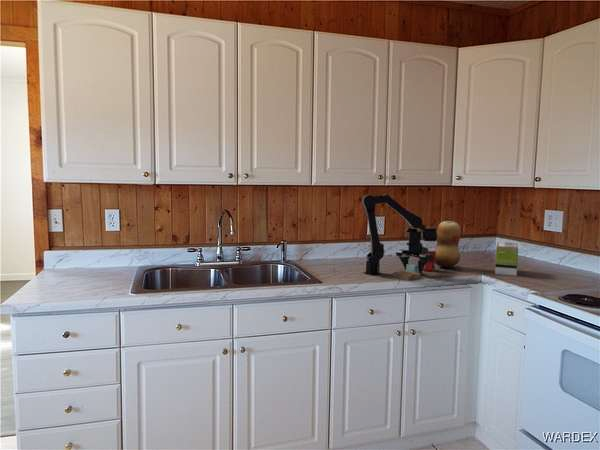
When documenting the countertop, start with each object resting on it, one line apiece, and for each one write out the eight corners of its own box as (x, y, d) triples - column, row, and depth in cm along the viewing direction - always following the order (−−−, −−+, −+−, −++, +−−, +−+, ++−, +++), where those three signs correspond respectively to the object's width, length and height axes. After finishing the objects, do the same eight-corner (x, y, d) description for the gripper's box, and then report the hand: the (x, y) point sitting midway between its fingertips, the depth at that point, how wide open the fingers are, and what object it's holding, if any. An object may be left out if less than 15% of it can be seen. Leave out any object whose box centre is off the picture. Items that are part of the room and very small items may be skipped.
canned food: (435, 272, 211) (436, 250, 210) (419, 271, 213) (420, 250, 212) (433, 268, 219) (434, 248, 218) (418, 268, 220) (419, 247, 219)
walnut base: (408, 280, 193) (408, 276, 193) (393, 276, 200) (393, 272, 200) (420, 277, 198) (420, 273, 198) (405, 274, 205) (405, 270, 205)
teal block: (414, 276, 202) (414, 266, 202) (406, 274, 206) (406, 264, 206) (420, 274, 205) (421, 264, 205) (412, 272, 209) (412, 263, 209)
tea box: (495, 268, 221) (496, 241, 220) (516, 270, 217) (517, 242, 215) (494, 274, 208) (496, 245, 206) (516, 276, 203) (518, 246, 202)
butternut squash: (445, 271, 213) (447, 223, 211) (427, 266, 226) (429, 220, 223) (465, 268, 219) (467, 222, 216) (447, 264, 231) (449, 219, 229)
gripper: (440, 242, 201) (439, 273, 203) (410, 237, 216) (409, 266, 218) (426, 244, 195) (424, 276, 196) (395, 239, 210) (394, 269, 211)
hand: (413, 272), depth 206 cm, fingers open, 8 cm apart
